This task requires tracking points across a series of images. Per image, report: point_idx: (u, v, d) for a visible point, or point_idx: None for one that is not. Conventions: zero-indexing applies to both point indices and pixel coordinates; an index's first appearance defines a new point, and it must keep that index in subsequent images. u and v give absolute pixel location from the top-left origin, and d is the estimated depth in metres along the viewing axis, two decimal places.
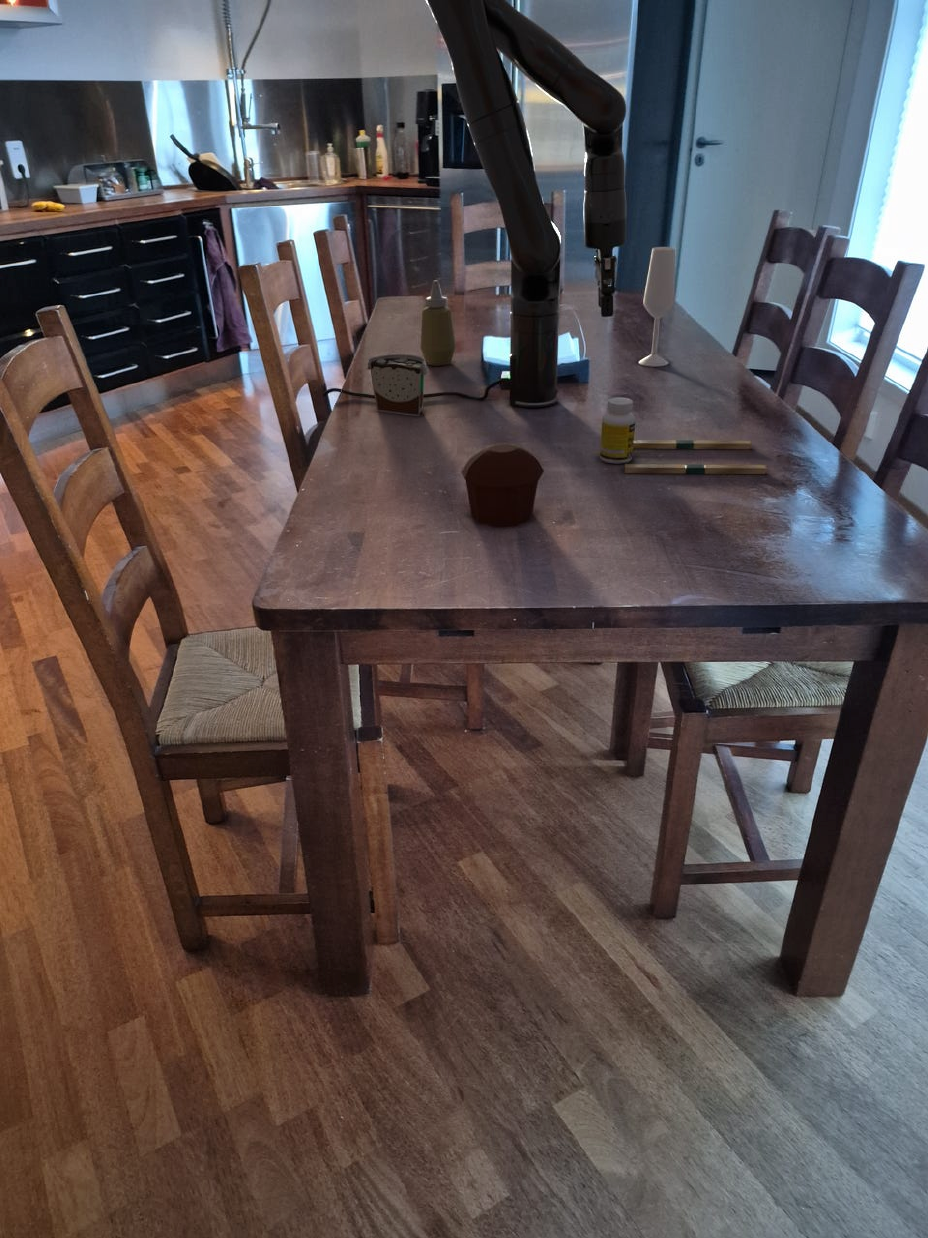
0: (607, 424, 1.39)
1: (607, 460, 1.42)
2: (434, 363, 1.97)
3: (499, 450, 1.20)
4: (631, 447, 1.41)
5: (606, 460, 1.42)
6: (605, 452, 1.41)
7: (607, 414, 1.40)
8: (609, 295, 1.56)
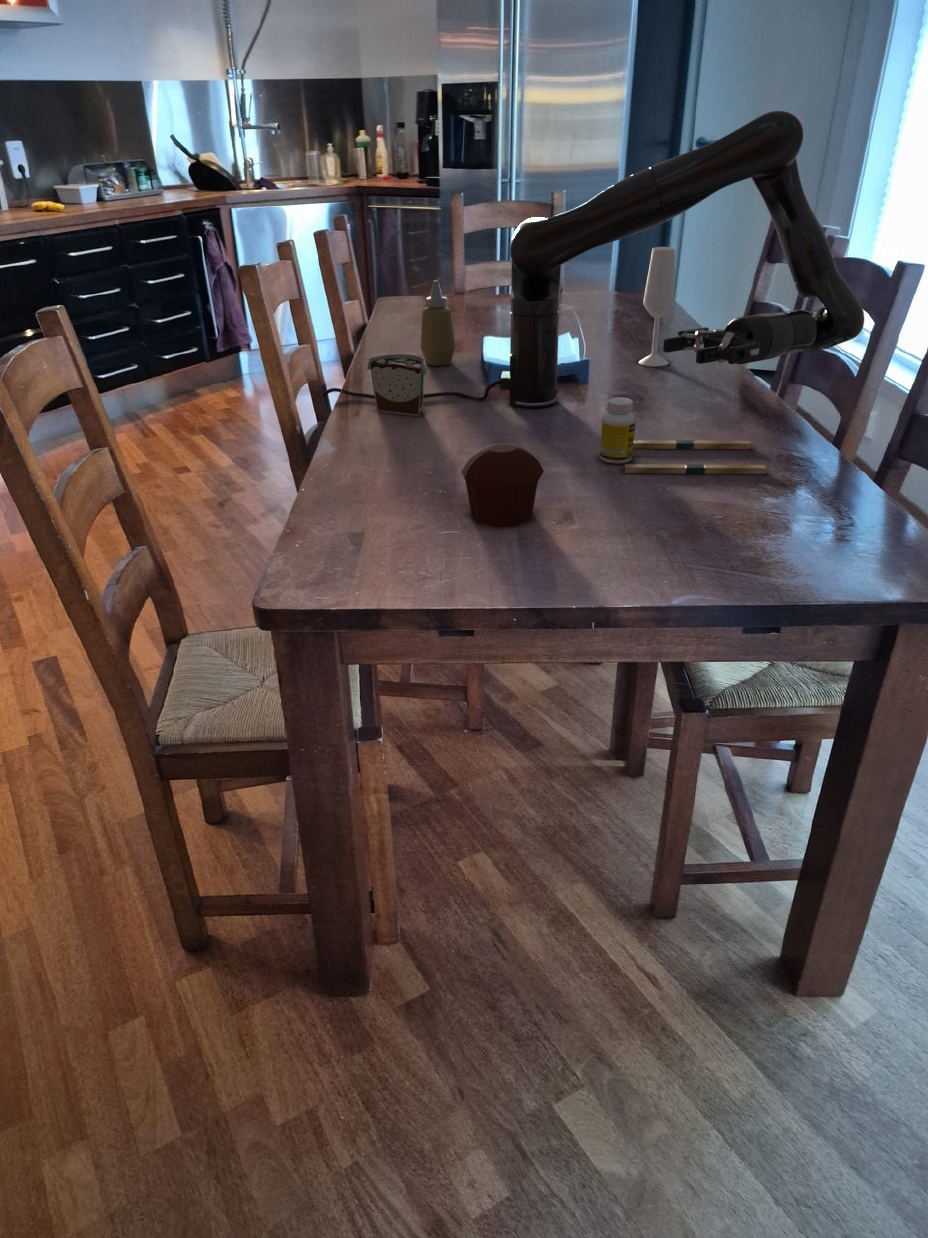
0: (607, 424, 1.39)
1: (607, 460, 1.42)
2: (434, 363, 1.97)
3: (499, 450, 1.20)
4: (631, 447, 1.41)
5: (606, 460, 1.42)
6: (605, 452, 1.41)
7: (607, 414, 1.40)
8: (722, 357, 1.37)
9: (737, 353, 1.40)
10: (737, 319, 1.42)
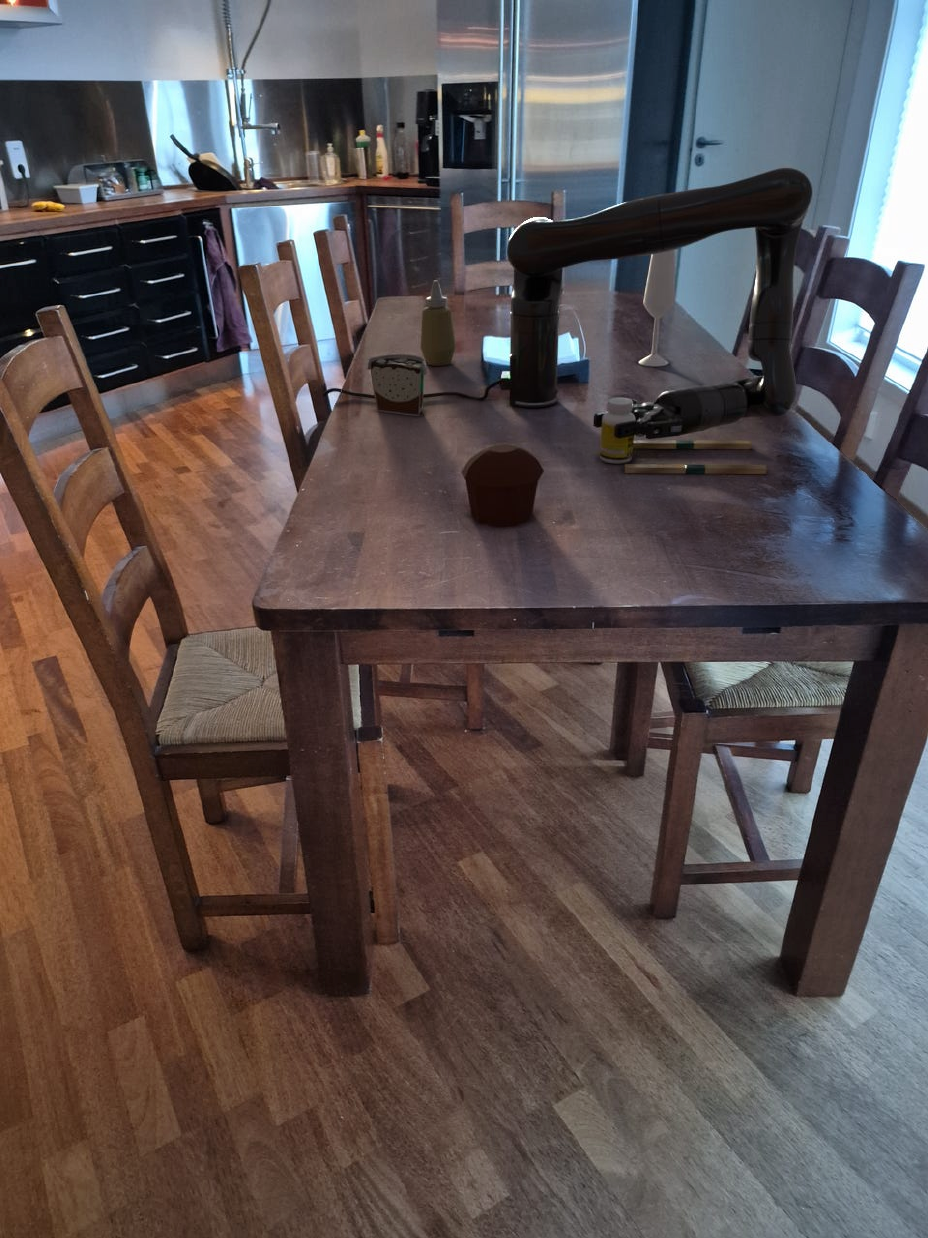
0: (607, 424, 1.39)
1: (607, 460, 1.42)
2: (434, 363, 1.97)
3: (499, 450, 1.20)
4: (631, 447, 1.41)
5: (606, 460, 1.42)
6: (605, 452, 1.41)
7: (607, 414, 1.40)
8: (639, 432, 1.38)
9: None
10: (666, 393, 1.43)
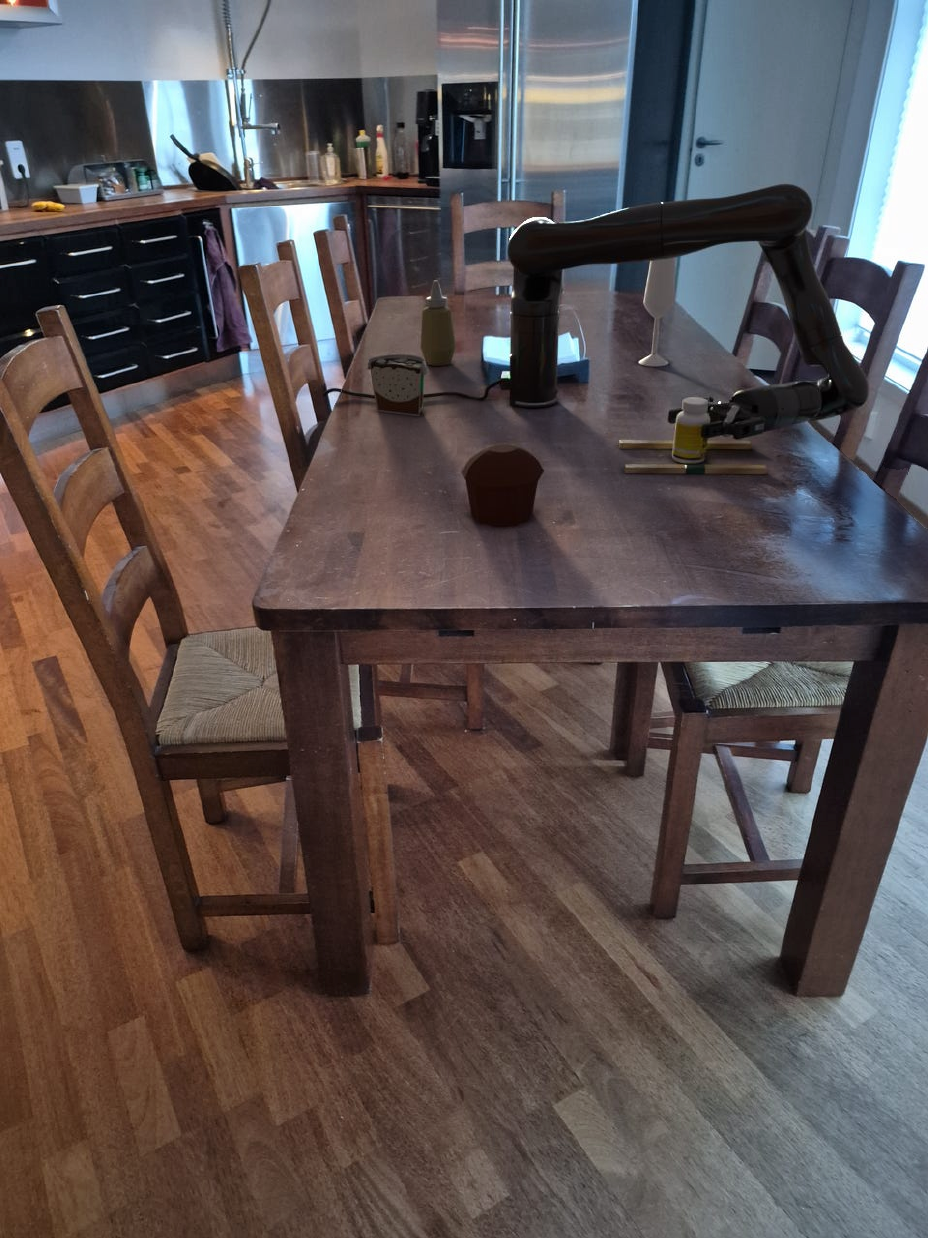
0: (681, 424, 1.38)
1: (680, 460, 1.41)
2: (434, 363, 1.97)
3: (499, 450, 1.20)
4: (705, 447, 1.40)
5: (679, 460, 1.41)
6: (678, 452, 1.41)
7: (682, 414, 1.39)
8: (727, 432, 1.36)
9: (742, 427, 1.40)
10: (742, 391, 1.42)
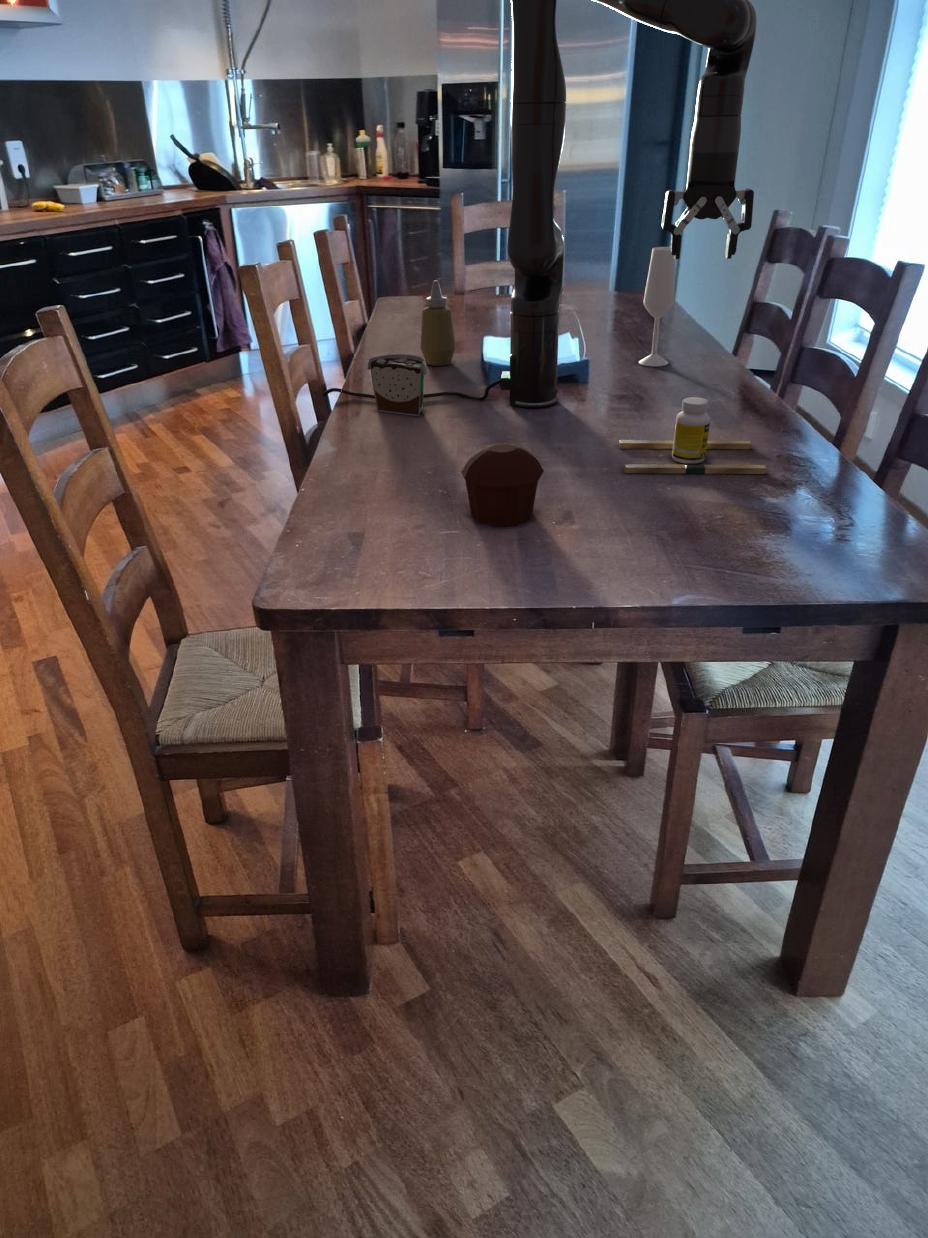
0: (681, 424, 1.38)
1: (680, 460, 1.41)
2: (434, 363, 1.97)
3: (499, 450, 1.20)
4: (705, 447, 1.40)
5: (679, 460, 1.41)
6: (678, 452, 1.41)
7: (682, 414, 1.39)
8: None
9: None
10: (710, 182, 1.37)
